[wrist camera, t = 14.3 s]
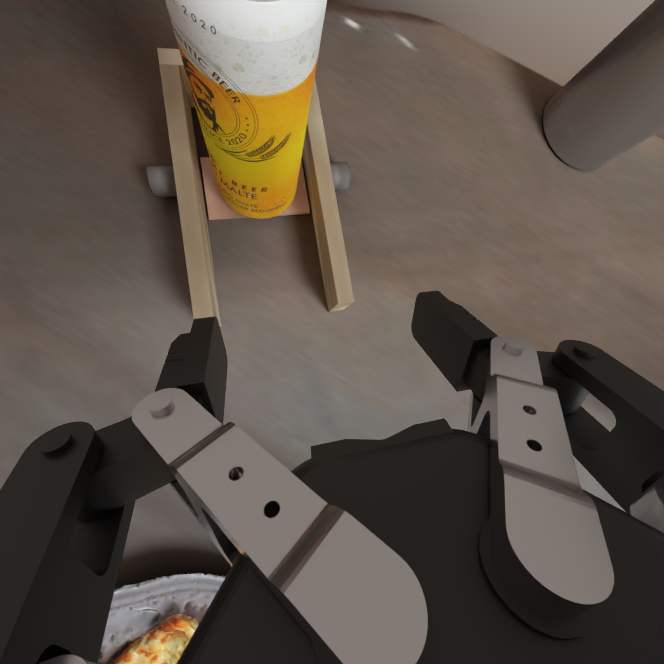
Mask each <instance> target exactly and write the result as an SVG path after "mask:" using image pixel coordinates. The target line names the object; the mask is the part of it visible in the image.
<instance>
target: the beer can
mask: <svg viewBox="0 0 664 664" xmlns="http://www.w3.org/2000/svg"><path fill="white" fill-rule="evenodd" d="M165 1H166V5H167V8H168V12H169V15H170V19H171V23H172V26H173V30H174V33H175V37H176V40H177V44H178V47H179V51H180V54H181V58H182V62H183V65H184V69H185V72H186V76H187V79H188V83H189V86H190V90H191V94H192V97H193V101H194V104H195V108H196V111H197V115H198V118H199V122H200V125H201V129H202V133H203V136H204V140H205V143H206V147H207V150H208V154H209V157H210V161H211V164H212V168H213V172H214V175H215V179H216V182H217V186H218V189H219V192H220V194H221V196H222V197H223V199H224V200H225V202H226V203H227V204H228V205H229V206H230V207H231V208H232V209H234V210H235V211H237V212H239V213H240V214H243V215H245V216H248V217H252V218H270V217H274V216H276V215H278V214H280V213H282V212H283V211H285V210H286V209H287V208H288V207H289V206H290V204H291V203H292V201H293V199H294V197H295V194H296V189H297V183H298V176H299V170H300V164H301V158H302V152H303V146H304V139H305V133H306V127H307V121H308V115H309V108H310V102H311V96H312V90H313V84H314V78H315V71H316V65H317V59H318V53H319V47H320V41H321V34H322V28H323V22H324V16H325V10H326V4H327V0H165Z"/></svg>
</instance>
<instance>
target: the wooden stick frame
mask: <svg viewBox="0 0 664 664" xmlns="http://www.w3.org/2000/svg"><path fill="white" fill-rule="evenodd" d="M157 51H158V58H159V66H160V73H161V80H162V88H163V95H164V103H165V110H166V117H167V125H168V132H169V140H170V147H171V154H172V162H173V166H148V167H147V177H148V181H149V185H150V188H151V190H152V192H153V194H154V196H155V197H173V196H177V199H178V206H179V214H180V221H181V228H182V236H183V243H184V251H185V258H186V265H187V273H188V280H189V288H190V295H191V302H192V310H193V317H194V319H197V318H206V317H214V316H216V317H217V319H218V322H219V326H220V327H222V323H221V316H220V309H219V302H218V294H217V287H216V280H215V273H214V266H213V259H212V252H211V245H210V238H209V231H208V224H207V217H206V210H205V203H204V196H203V189H202V182H201V175H200V168H199V161H198V154H197V147H196V139H195V132H194V125H193V118H192V111H191V107H195V104H194V101H193V97H192V94H191V90H190V86H189V83H188V79H187V76H186V72H185V69H184V65H183V62H182V58H181V54H180V51H179V49H167V48H157ZM302 158H303V164H304V170H305V176H306V182H307V187H308V193H309V199H310V205H311V211H312V217H313V223H314V229H315V235H316V241H317V247H318V253H319V258H320V264H321V270H322V276H323V282H324V288H325V294H326V300H327V306H328V312H334V311H341V310H344V309H345V308H346V307H348V306H349V305H350V304H352V303H353V302H354V297H353V291H352V286H351V280H350V274H349V269H348V263H347V257H346V252H345V246H344V240H343V235H342V229H341V223H340V218H339V212H338V206H337V200H336V195H335V190H341V189H348V188H349V185H350V167H349V164H348V163H347V162H336V163H330V161H329V155H328V149H327V144H326V138H325V132H324V127H323V121H322V115H321V109H320V104H319V98H318V92H317V87H316V81H315V78H314V84H313V90H312V96H311V102H310V108H309V115H308V121H307V127H306V133H305V139H304V146H303V152H302ZM200 159H201V166H202V173H203V180H204V187H205V194H206V201H207V208H208V215H209V220H216V219H233V218H250V217H248V216H245V215H243V214H240V213H239V212H237V211H235V210H234V209H232V208H231V207H230V206H229V205H228V204H227V203H226V202H225V200H224V199H223V197H222V196H221V194H220V192H219V189H218V186H217V182H216V179H215V175H214V172H213V168H212V164H211V161H210V157H200ZM301 214H310V208H309V203H308V197H307V191H306V185H305V179H304V173H303V167H302V161H301V164H300V170H299V176H298V183H297V189H296V194H295V197H294V199H293V201H292V203H291V204H290V206H289V207H288V208H287V209H286V210H285V211H283V212H282V213H280V214H278V215H276V216H284V215H301Z"/></svg>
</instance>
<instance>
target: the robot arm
mask: <svg viewBox="0 0 664 664" xmlns="http://www.w3.org/2000/svg"><path fill="white" fill-rule="evenodd" d="M543 126H544V131H545V135H546V138H547V140H548V142H549V144H550V146H551V148H552V149H553V150H554V152H555V153H556V154H557V156H558V157H560V158H561V159H562V160H563V161H564V162H565V163H567V164H568V165H570V166H572V167H574V168H576V169H580V170H594V169H597V168H599V167H601V166H602V165H604V164H606V163H607V162H609V161H611V160H612V159H614V158H616V157H617V156H619V155H621V154H622V153H624V152H626V151H627V150H629V149H631V148H632V147H634V146H636V145H638V144H639V143H641V142H643V141H645V140H646V139H648V138H650V137H651V136H653V135H655V134H656V133H658V132H660V131H661V130H663V129H664V0H655V1H654V2H653V3H652V4H651V5H649V6H648V7H647V8H646V9H645V10H644V11H643V12H642V13H641V14H640V15H639V16H638V17H637V18H636V19H635V20H634V21H632V22H631V23H630V24H629V25H628V26H627V27H626V28H625V29H624V30H623V31H622V32H621V33H620V34H619V35H618V36H617V37H616V38H614V39H613V40H612V41H611V42H610V43H609V44H608V45H607V46H606V47H605V48H604V49H603V50H602V51H601V52H600V53H599V54H597V55H596V56H595V57H594V58H593V59H592V60H591V61H590V62H589V63H588V64H587V65H586V66H585V67H584V68H583V69H581V70H580V71H579V73H577V74H576V75H575V76H574V77H573V78H572V79H571V80H570V81H569V82H568V83H567V84H566V85H565V86H563V87H562V88H561V89H560V90H559V91H558V92H557V93H556V94H555V95H554V96H553V97H552V98H551V99H550V100H549V101H548V103H547V105H546V106H545V110H544V113H543ZM411 328H412V334H413V337H414V338H415V340H416V341H417V342H418V343H419V345H420V346H421V347H422V348H423V350H424V351H425V352H426V353H427V355H428V356H429V357H430V358H431V360H432V361H433V362H434V363H435V365H436V366H437V367H438V368H439V370H440V371H441V372H442V373H443V375H444V376H445V377H446V378H447V380H448V381H449V382H450V383H451V385H452V386H453V387H454V388H455V390H456V391H457V392H458V391H463V390H468V389H471V390H472V394H471V397H470V404H469V417H468V429H467V431H464V430H457V429H451V427H450V426H449V424H448V423H447V422H446V420H445V419H440V420H435V421H430V422H425V423H421V424H416V425H413V426H411V427H409V428H407V429H405V430H403V431H401V432H399V433H397V434H395V435H393V436H391V437H389V438H387V439H384V440H362V439H344V440H339V441H335V442H330V443H325V444H320V445H316V446H311V459H309V460H307V461H305V462H303V463H302V464H300V465H299V466H297V467H296V468H295V469H294V470H292V471H291V472H290V471H289V470H288V469H287V468H286V467H284V466H283V465H282V464H281V463H280V462H279V461H277V460H276V459H275V458H274V457H273V456H272V455H271V454H269V453H268V452H267V451H266V450H265V449H264V448H262V447H261V446H260V445H259V444H258V443H257V442H255V441H254V440H253V439H252V438H251V437H250V436H248V435H247V434H246V433H245V432H244V431H243V430H241V429H240V428H239V427H238V426H237V425H235V424H234V423H232V422H229V423H227V424H226V425H225V426H224V425H223V417H224V404H225V391H226V378H227V354H226V349H225V345H224V342H223V338H222V334H221V330H220V326H219V322H218V319H217V317H216V316H214V317H206V318H197V319H194V321H193V324H192V328H191V332H190V333H186V334H180V335H179V336H178V337H177V338H176V339H175V340H174V341H173V342H172V343H171V346H170V349H169V352H168V355H167V358H166V360H165V364H164V366H163V369H162V372H161V375H160V378H159V381H158V384H157V386H156V389H155V392H154V393H152V394H150V395H148V396H147V397H145V398H144V399H142V400H141V401H140V402H139V403H138V404H137V405H136V407H135V408H134V410H133V413H132V416H131V417H129V418H127V419H125V420H123V421H120V422H118V423H115V424H113V425H110V426H107V427H105V428H102V429H100V430H97V431H95V429H94V428H93V427H92V425H90V424H89V423H86V422H71V423H67V424H63V425H61V426H58V427H56V428H53V429H51V430H50V431H48V432H46V433H44V434H43V435H41V436H40V437H39V438H37V439H36V440H35V441H34V442H32V443H31V444H30V445H29V446H28V448H27V449H26V450H25V451H24V453H23V454H22V456H21V458H20V459H19V461H18V462H17V464H16V466H15V467H14V469H13V471H12V472H11V474H10V475H9V477H8V479H7V480H6V482H5V484H4V485H3V487H2V489H1V490H0V664H97V663H98V659H99V654H100V650H101V646H102V642H103V637H104V633H105V629H106V624H107V620H108V616H109V611H110V607H111V603H112V599H113V594H114V590H115V586H116V581H117V577H118V573H119V569H120V564H121V560H122V556H123V551H124V547H125V543H126V539H127V534H128V530H129V526H130V521H131V517H132V513H133V509H134V504H135V500H136V499H138V498H140V497H142V496H144V495H146V494H148V493H150V492H152V491H154V490H156V489H158V488H160V487H162V486H164V485H166V484H168V483H169V484H170V485H171V487H172V488H173V489H174V491H175V492H176V493H177V494H178V496H179V497H180V498H181V499H182V501H183V502H184V503H185V505H186V506H187V507H188V508H189V510H190V511H191V512H192V514H193V515H194V516H195V517H196V519H197V520H198V521H199V523H200V524H201V525H202V527H203V528H204V529H205V531H206V532H207V534H208V535H209V537H210V538H211V540H212V541H213V543H214V544H215V546H216V547H217V548H218V550H219V551H220V552H221V554H222V555H223V556H224V558H225V559H226V560H227V561H228V563H229V564H230V565H231V569H230V571H229V572H228V574H227V576H226V578H225V579H224V581H223V583H222V585H221V586H220V588H219V590H218V592H217V593H216V595H215V597H214V599H213V600H212V602H211V604H210V606H209V607H208V609H207V611H206V613H205V614H204V616H203V618H202V620H201V621H200V623H199V625H198V627H197V628H196V630H195V632H194V634H193V635H192V637H191V639H190V641H189V642H188V644H187V646H186V648H185V649H184V651H183V653H182V655H181V657H180V658H179V660H178V662H177V664H664V391H663V390H661V389H660V388H658V387H657V386H655V385H654V384H652V383H651V382H649V381H648V380H646V379H645V378H643V377H642V376H640V375H639V374H637V373H636V372H634V371H633V370H631V369H630V368H628V367H627V366H625V365H624V364H622V363H621V362H619V361H618V360H616V359H615V358H613V357H612V356H610V355H609V354H607V353H606V352H604V351H603V350H601V349H599V348H598V347H596V346H593V345H591V344H588V343H585V342H582V341H576V340H565V341H562V342H560V344H559V345H558V347H557V349H556V351H555V352H541V351H536V350H535V348H534V347H533V346H532V345H530V344H529V343H527V342H525V341H523V340H521V339H518V338H515V337H510V336H497V335H496V334H495V333H494V332H492V331H491V330H490V329H489V328H488V327H486V326H485V325H484V324H483V323H482V322H480V321H479V320H476V318H475V317H474V316H473V315H472V314H470V313H469V312H468V311H467V310H466V309H465V308H463V307H462V306H460V305H458V304H456V303H454V302H452V301H450V300H448V299H447V298H446V297H445V296H444V295H442V294H441V293H440V292H439V291H430V292H421V293H419V294H418V295H417V297H416V302H415V308H414V314H413V319H412V326H411ZM589 392H590V393H591V394H592V395H593V396H595V397H596V398H597V399H598V400H599V401H601V402H602V403H603V404H604V405H605V406H607V407H608V408H609V409H610V410H611V411H612V412H613V413H614V415H615V418H616V425H615V427H614V428H613V430H612V431H611V432H609V431H608V430H607V429H606V428H605V427H604V426H603V425H601V424H600V423H599V422H598V421H597V420H596V419H595V418H594V417H592V416H591V415H590V414H589V413H588V412H587V411H586V410H585V409H584V408H582V407H581V404H582V403H583V401H584V400H585V398H586V397H587V395H588V394H589ZM573 455H574V457H575V458H576V459H577V460H578V461H579V462H580V463H581V464H582V465H583V466H584V467H585V468H586V469H587V471H588V472H589V473H590V474H591V475H592V476H593V477H594V478H595V479H596V480H597V481H598V482H599V483H600V484H601V486H602V487H603V488H604V489H605V490H606V491H607V492H608V493H609V494H610V495H611V496H612V497H613V498H614V500H615V501H616V502H617V503H618V504H619V505H620V506H621V507H622V508H623V509H624V510H625V511H626V512H627V513H626V512H624V511H622V510H620V509H618V508H617V507H615V506H613V505H611V504H609V503H607V502H605V501H603V500H602V499H600V498H598V497H596V496H594V495H592V494H590V493H589V492H587V491H585V490H583V489H582V488H581V486H580V482H579V478H578V474H577V470H576V466H575V462H574V458H573Z"/></svg>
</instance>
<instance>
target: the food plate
mask: <svg viewBox="0 0 664 664" xmlns="http://www.w3.org/2000/svg"><path fill="white" fill-rule="evenodd" d="M159 578H160V579H159ZM159 578H156V579H152V580H147V581H145V582H142V583H138V584H132V585H125V586H121V587H120V589H119V588H118V589H116V588H115V590H114V594H113V599H112V603H111V607H110V611H109V616H108V620H107V624H106V629H105V633H104V637H103V642H102V646H101V650H100V654H99V659H98V663H97V664H177V662H178V660H179V658H180V657H181V655H182V653H183V651H184V649H185V648H186V646H187V644H188V642H189V641H190V639H191V637H192V635H193V634H194V632H195V630H196V628H197V627H198V625H199V623H200V621H201V620H202V618H203V616H204V614H205V613H206V611H207V609H208V607H209V606H210V604H211V602H212V600H213V599H214V597H215V595H216V593H217V592H218V590H219V588H220V586H221V585H222V583H223V581H224V579H225V578H226V576H220V577H219V575H216V576H215V575H211V574H206V575H204V574H203V573H198V574H196V573H195V574H191V575H190V573H189V574H185V575H184V574H183V575H181V574H179V575H172V576H170V577H169V576H168V577H166V576H163V577H159Z"/></svg>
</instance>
